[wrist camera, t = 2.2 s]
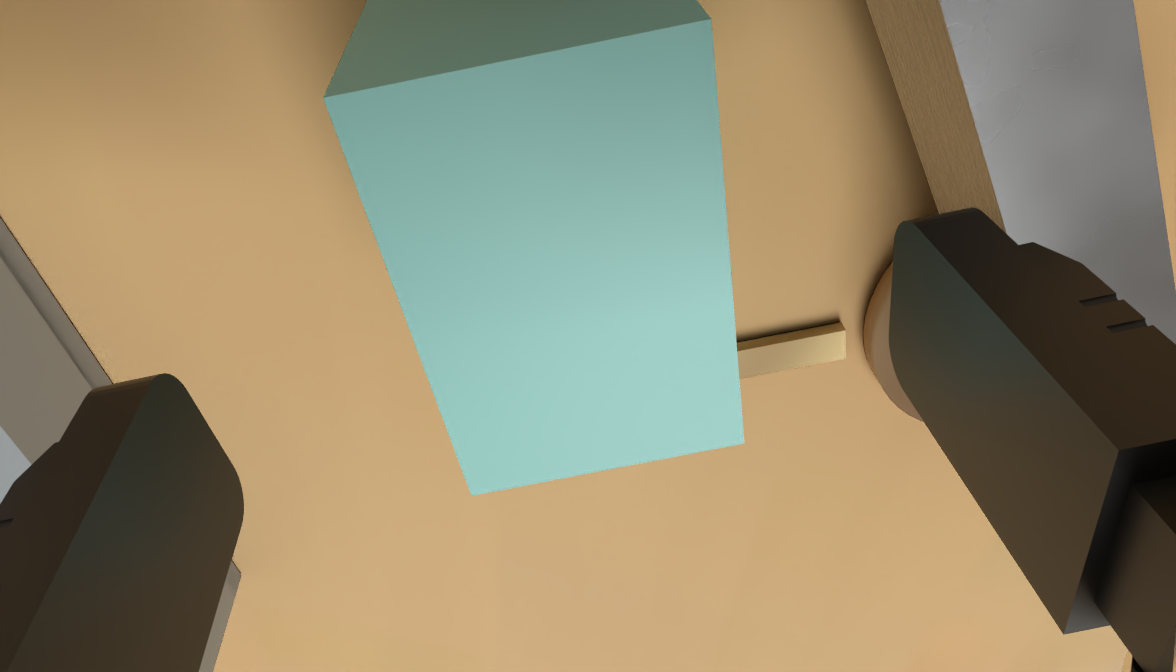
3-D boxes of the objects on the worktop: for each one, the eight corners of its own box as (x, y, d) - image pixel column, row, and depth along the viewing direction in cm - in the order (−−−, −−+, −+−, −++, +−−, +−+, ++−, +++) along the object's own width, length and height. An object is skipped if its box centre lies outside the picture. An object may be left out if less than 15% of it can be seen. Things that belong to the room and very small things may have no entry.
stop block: (629, -87, 13) (711, 19, 8) (670, 237, 17) (744, 443, 12) (383, -36, 13) (322, 98, 8) (476, 276, 17) (471, 495, 12)
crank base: (1164, 156, 17) (1188, 171, 16) (1103, 382, 20) (1121, 401, 20) (696, 248, 17) (704, 266, 16) (719, 456, 20) (725, 477, 20)
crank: (1155, 351, 18) (1306, 493, 15) (936, 447, 19) (1031, 599, 16) (939, -871, 8) (1255, -1297, 5) (511, -526, 9) (525, -675, 6)
